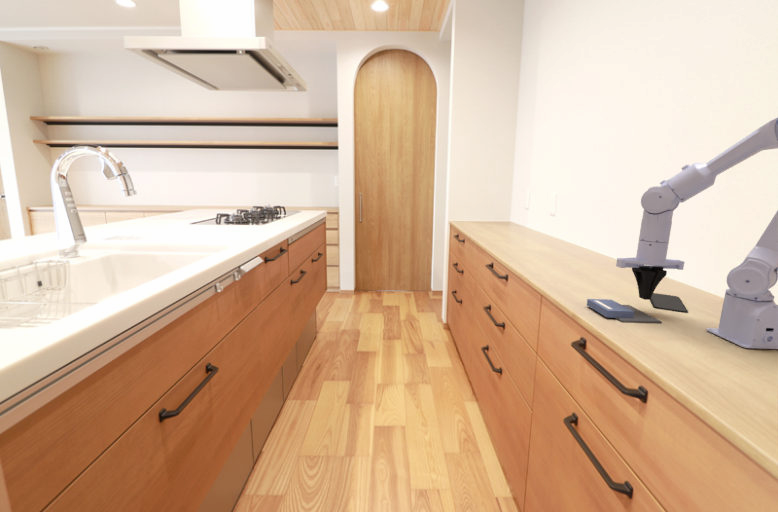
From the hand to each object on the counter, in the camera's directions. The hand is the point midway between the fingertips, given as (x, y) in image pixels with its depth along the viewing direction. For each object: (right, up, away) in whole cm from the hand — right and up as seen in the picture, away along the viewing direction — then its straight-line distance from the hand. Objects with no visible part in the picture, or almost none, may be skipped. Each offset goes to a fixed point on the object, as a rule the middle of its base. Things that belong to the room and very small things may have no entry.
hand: (644, 298), depth 94 cm
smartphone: (+13, -3, +11) cm, 17 cm away
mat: (-4, -4, +1) cm, 6 cm away
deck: (-5, -2, +1) cm, 6 cm away
